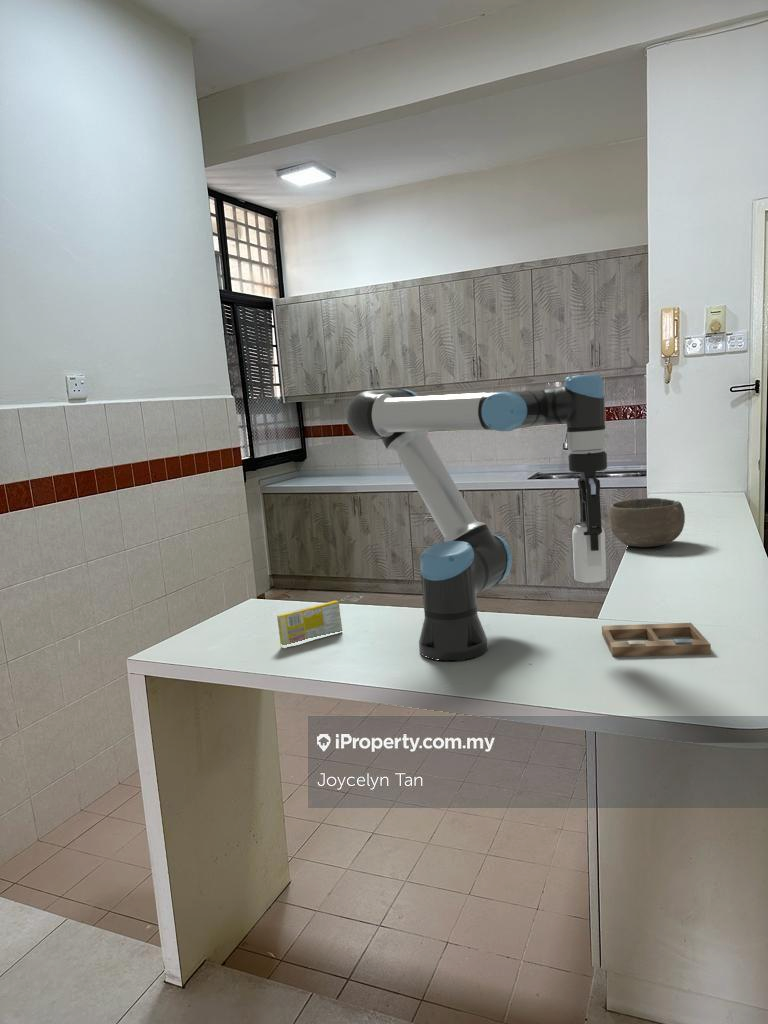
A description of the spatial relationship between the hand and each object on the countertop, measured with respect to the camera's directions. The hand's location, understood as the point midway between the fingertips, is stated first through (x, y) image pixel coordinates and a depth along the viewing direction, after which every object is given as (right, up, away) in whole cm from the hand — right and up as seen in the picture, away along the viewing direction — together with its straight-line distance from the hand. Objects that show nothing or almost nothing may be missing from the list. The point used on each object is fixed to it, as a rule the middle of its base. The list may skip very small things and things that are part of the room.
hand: (592, 561), depth 146 cm
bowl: (+48, -1, +96) cm, 108 cm away
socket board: (+14, -18, +3) cm, 23 cm away
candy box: (-61, -21, +25) cm, 69 cm away
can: (0, -4, +1) cm, 4 cm away
